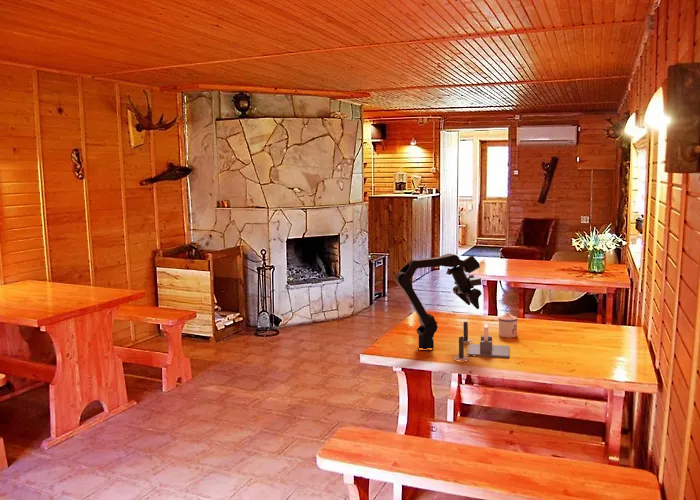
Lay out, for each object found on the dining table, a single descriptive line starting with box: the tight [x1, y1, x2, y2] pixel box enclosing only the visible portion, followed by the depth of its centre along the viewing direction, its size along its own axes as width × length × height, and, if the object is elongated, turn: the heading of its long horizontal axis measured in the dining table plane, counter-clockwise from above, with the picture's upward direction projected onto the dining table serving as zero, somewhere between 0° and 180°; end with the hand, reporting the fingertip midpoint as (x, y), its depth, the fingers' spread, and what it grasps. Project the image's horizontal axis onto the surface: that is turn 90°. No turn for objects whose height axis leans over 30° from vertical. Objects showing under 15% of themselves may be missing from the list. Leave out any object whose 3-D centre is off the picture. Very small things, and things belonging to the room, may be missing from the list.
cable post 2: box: [462, 321, 473, 343], centre depth 276 cm, size 6×6×10 cm
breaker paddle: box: [483, 323, 489, 341], centre depth 259 cm, size 2×6×10 cm, turn 165°
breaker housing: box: [466, 335, 510, 359], centre depth 260 cm, size 18×16×6 cm
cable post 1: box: [453, 336, 469, 361], centre depth 249 cm, size 6×6×10 cm
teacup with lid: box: [498, 311, 518, 338], centre depth 287 cm, size 12×9×12 cm
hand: (473, 306), depth 271 cm, fingers open, 9 cm apart
